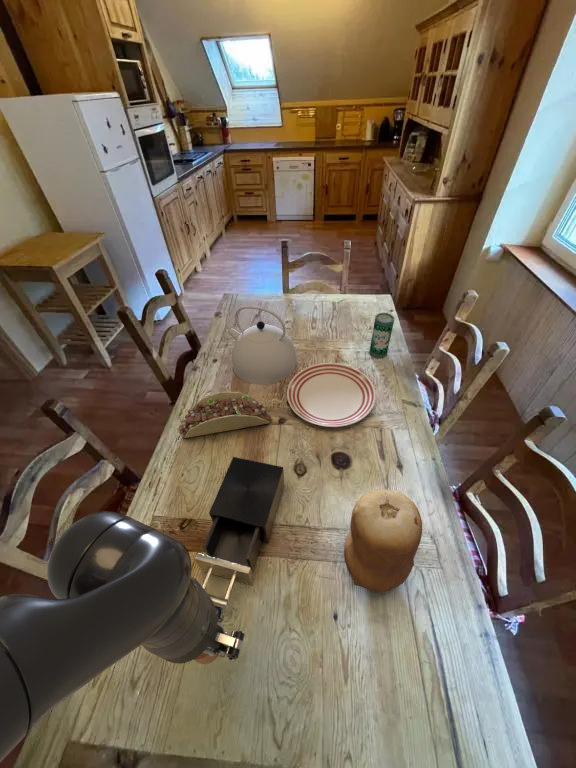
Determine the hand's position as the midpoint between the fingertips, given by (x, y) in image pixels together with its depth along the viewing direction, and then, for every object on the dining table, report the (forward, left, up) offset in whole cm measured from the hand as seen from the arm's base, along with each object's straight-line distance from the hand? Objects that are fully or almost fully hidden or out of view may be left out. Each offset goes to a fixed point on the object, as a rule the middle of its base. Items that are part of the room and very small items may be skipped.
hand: (207, 642), depth 50 cm
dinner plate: (+47, -51, -17) cm, 72 cm away
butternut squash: (+1, -33, -17) cm, 38 cm away
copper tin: (0, 0, 0) cm, 0 cm away
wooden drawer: (+15, -7, -16) cm, 23 cm away
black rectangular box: (+25, -15, -17) cm, 34 cm away
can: (+58, -78, -17) cm, 99 cm away
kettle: (+74, -39, -17) cm, 85 cm away
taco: (+51, -18, -17) cm, 57 cm away
